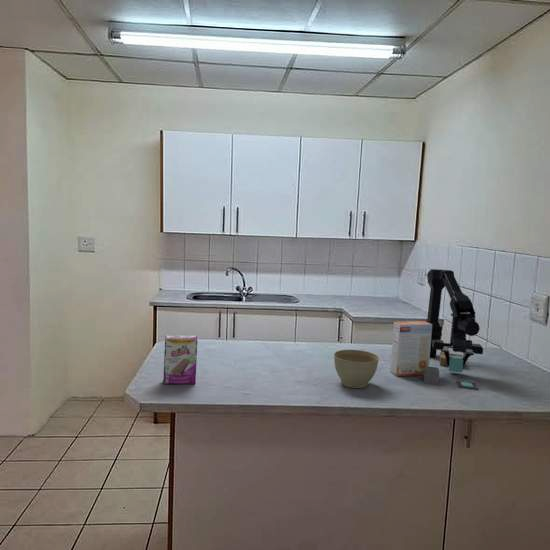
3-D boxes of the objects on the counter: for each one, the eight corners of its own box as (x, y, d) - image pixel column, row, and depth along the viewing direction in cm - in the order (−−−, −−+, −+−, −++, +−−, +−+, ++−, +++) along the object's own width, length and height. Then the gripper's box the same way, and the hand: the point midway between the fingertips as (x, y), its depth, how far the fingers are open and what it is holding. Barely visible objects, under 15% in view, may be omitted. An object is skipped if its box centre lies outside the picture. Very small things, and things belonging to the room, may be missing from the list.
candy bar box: (163, 385, 171) (164, 338, 169) (163, 380, 176) (164, 335, 174) (196, 384, 173) (197, 338, 171) (195, 379, 178) (196, 334, 176)
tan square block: (439, 366, 212) (440, 357, 211) (439, 360, 220) (440, 352, 220) (462, 369, 209) (463, 360, 209) (461, 363, 218) (462, 354, 217)
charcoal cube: (424, 382, 189) (425, 369, 188) (423, 378, 194) (424, 366, 193) (438, 384, 188) (439, 371, 187) (437, 380, 193) (438, 367, 192)
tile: (458, 387, 185) (458, 386, 185) (455, 381, 192) (455, 380, 192) (478, 389, 184) (478, 388, 184) (475, 383, 191) (475, 382, 191)
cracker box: (420, 371, 203) (425, 320, 200) (428, 375, 197) (433, 324, 195) (389, 371, 200) (393, 320, 197) (396, 376, 194) (400, 324, 191)
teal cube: (448, 371, 199) (450, 359, 198) (447, 367, 204) (448, 355, 203) (462, 372, 198) (463, 360, 197) (460, 369, 203) (461, 357, 202)
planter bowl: (340, 374, 193) (342, 346, 192) (381, 382, 186) (384, 354, 185) (325, 385, 179) (327, 356, 178) (368, 395, 172) (371, 364, 171)
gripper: (436, 331, 193) (432, 370, 195) (487, 336, 189) (483, 376, 191) (433, 325, 204) (430, 362, 206) (482, 330, 200) (478, 368, 202)
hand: (455, 367), depth 201 cm, fingers closed on teal cube, 5 cm apart
